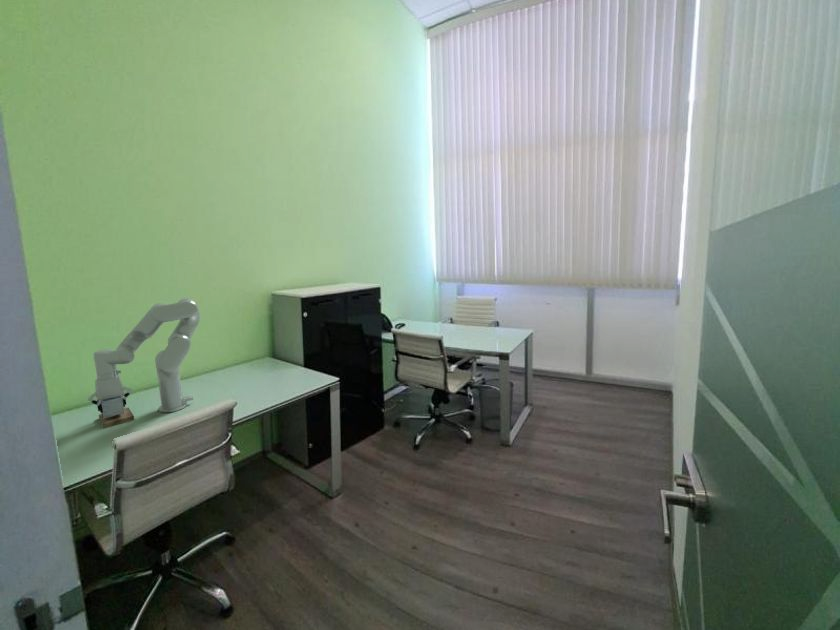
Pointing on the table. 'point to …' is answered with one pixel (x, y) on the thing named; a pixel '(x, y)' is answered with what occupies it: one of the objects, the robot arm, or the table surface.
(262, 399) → the table surface
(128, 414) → the wooden display stand
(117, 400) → the medicine box
